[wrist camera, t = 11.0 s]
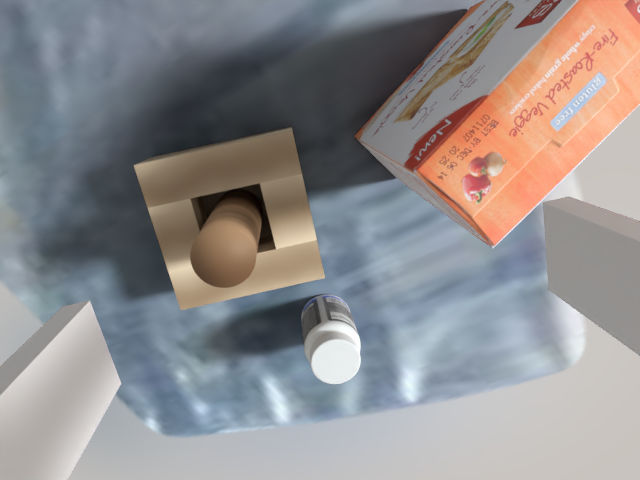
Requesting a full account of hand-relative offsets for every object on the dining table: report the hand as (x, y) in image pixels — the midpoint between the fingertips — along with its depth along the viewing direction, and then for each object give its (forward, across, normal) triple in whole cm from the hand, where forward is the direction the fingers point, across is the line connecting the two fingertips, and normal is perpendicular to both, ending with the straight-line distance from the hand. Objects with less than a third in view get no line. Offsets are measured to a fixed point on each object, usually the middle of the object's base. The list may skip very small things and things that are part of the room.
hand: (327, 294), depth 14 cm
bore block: (+29, -6, -3) cm, 29 cm away
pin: (+28, -6, -3) cm, 28 cm away
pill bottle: (+29, 0, -15) cm, 32 cm away
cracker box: (+29, +12, +3) cm, 32 cm away
